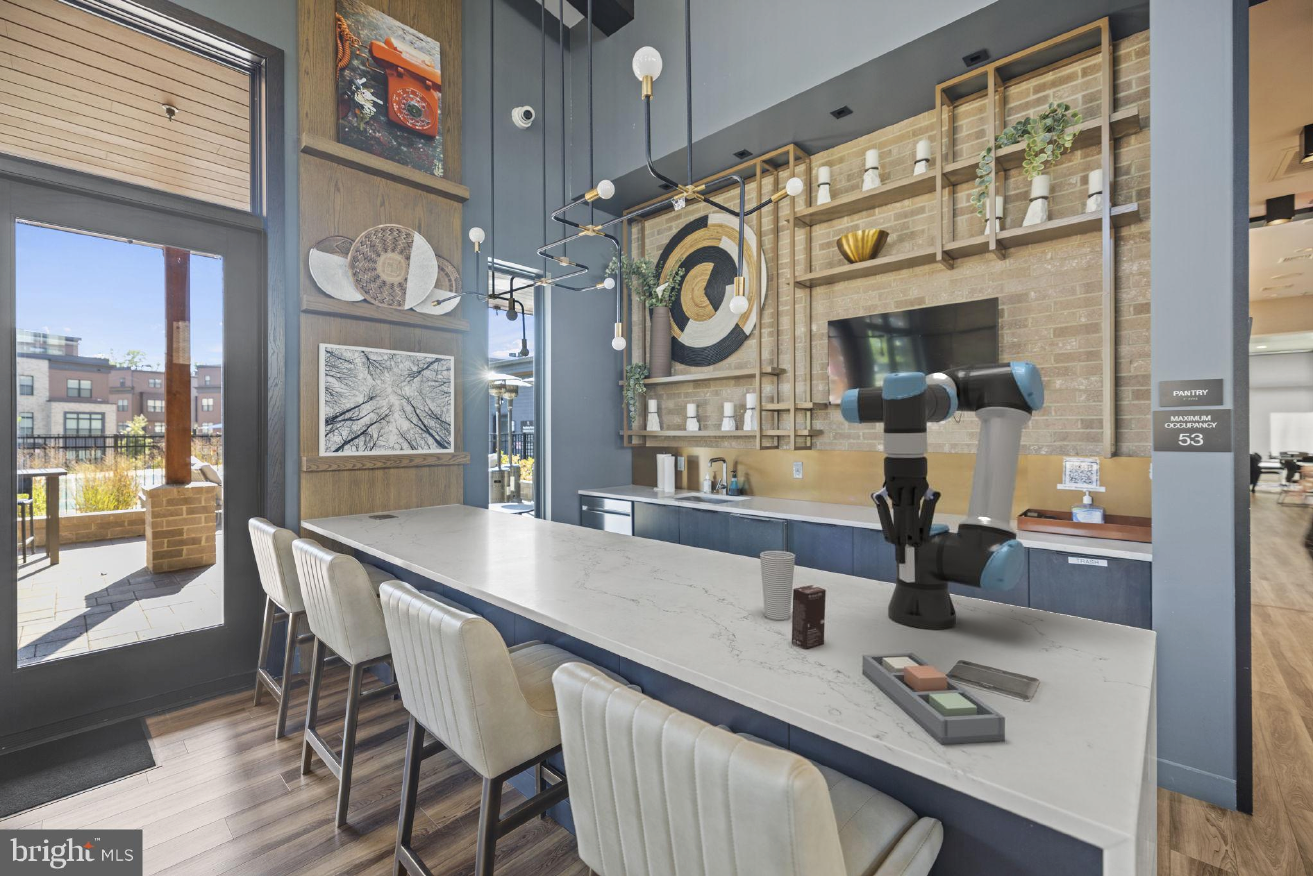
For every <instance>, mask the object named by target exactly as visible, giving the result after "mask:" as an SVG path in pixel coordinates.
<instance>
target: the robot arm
mask: <svg viewBox="0 0 1313 876" xmlns="http://www.w3.org/2000/svg"><path fill="white" fill-rule="evenodd" d="M1044 387H1045V386H1044V382H1043V379H1042V374H1041V373H1040V370H1039V368H1038V366H1036V364H1034V363H1033V362H1031V361H1013V360H1011V361H1010V362H998V363H997V362H996V363H985V364H973V365H972V364H969V365H962V366H958V367H954V368H950V369H947V370H942V371H939V372H938V371H937V372H934V373H931V374H928V375H926V374H925V373H924V372H921V371H920V372H918V371H917V372H916V371H912V372H910V371H909V372H895V373H888V374H886V375H885V376H884V377H883V380H882V385H881V386H875V387H866V388H860V387H858V388H854V389H852V388H851V389H848V390H846V391H845V392H844V393H843V394H842V396H841V398H840V403H839V404H840V414H841V416H842V418H843V419H844V420H845V421H846V423H847V422H848V423H850V424H859V425H860V424H882V423H883V453H884V454H885V455H887V456H885V457H884V458H883V475H884V482H883V484H882V488H881V489H880V490H878V491H877V492H872V493H871V494H870V498H871V500H872V501H873V503H874V504H875V505H876V510H877V514H878V517H879V522H880V526H881V530H882V533H883V538H884V541H885V542H887V543H889V544H892V545H894V558H895V559H894V560H895V587H894V590H893V592H892V595H891V598H890V601H889V604H888V609H887V611H888V612H887V613H888V614H887V615H888V618H890V619H891V620H892V621H894V622H896V623H899V624H902V625H905V626H909V627H914V628H920V629H926V630H927V629H930V630H945V629H950V628H954V627H955V626H956V625H957V613H956V610H955V609H956V608H955V606H954V603H953V600H952V598H951V594H950V591H949V583H953V584H956V585H957V584H958V585H962V586H966V587H967V586H968V587H973V588H978V589H982V590H984V591H997V592H1007V591H1008V592H1009V591H1010V590H1011V589H1012V588H1014V586H1015V585H1016V584H1017V583H1018V581H1019V579H1020V577H1021V574H1022V572H1023V569H1024V566H1025V559H1026V558H1025V551H1026V550H1025V546H1024V544H1023V543H1022V542H1021V541H1020V540H1019V539H1017V531H1015V530H1014V528H1013V527H1012V526H1011V518H1012V511H1013V505H1014V504H1013V503H1014V495H1015V489H1016V482H1017V481H1016V480H1017V471H1018V465H1019V456H1020V449H1021V440H1022V433H1023V426H1025V425H1026V424H1028V423H1029V422H1030V421H1032V417H1033V416H1032V415H1033V412H1037V411H1040V410H1041V409H1043V408H1044V407H1043V406H1044V404H1045V388H1044ZM956 412H967V413H968V412H972V413H974V415H975V418H977V419H978V420H979V422H980V427H979V433H978V440H977V448H976V454H975V460H974V468H973V474H972V480H971V481H972V482H971V490H970V495H969V502H968V507H967V508H968V509H967V516H966V518H965V519H964V520H962V521H961V522H959V523H958V527H957V532H952V531H951V530H950V527H949V525H948V524H945V523H944V524H943V523H933V520H934V514H935V511H936V506H937V503H938V502H939V500H940V498H941V497H942V493H941V492H940V491H937V490H933V488H931V487H929V486H930V484H929V482H928V480H927V476H928V472H929V471H928V458H927V457H926V456H925V454H927V453H928V431H927V430H928V427H927V426H928V424H927V423H937V424H939V423H941V422H944V421H947V420H949V419H951V418H952V417H953V416H954V415H955V413H956ZM922 499H923V500H922ZM888 500H890V501H891V509H892V513H891V510H890V506H889V503H888ZM921 501H922V503H921ZM891 514H893V517H892V515H891Z"/></svg>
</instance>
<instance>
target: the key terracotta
mask: <svg viewBox="0 0 1313 876" xmlns="http://www.w3.org/2000/svg"><path fill="white" fill-rule="evenodd" d="M947 677H948V676H947V675H945V674H944V673H942V672H940V671H939V670H938V669H936V668H935V667H934V668H933V666H932V665H931V664H929V665H928V666H904V681H905V682H906V683H907V684H908V685H910V686H911V687H912V688H913V689H915V690H916V691H917V692H924V691H944V690H947Z"/></svg>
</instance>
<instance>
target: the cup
mask: <svg viewBox="0 0 1313 876" xmlns="http://www.w3.org/2000/svg"><path fill="white" fill-rule="evenodd" d="M759 556H760V560H759V561H760V570H761V571H760V572H761V584H762V595H763V597H762V598H763V607H764V616H765V617H766V619H769V620H773V621H786V620H788V619H789V618H790V617H791V606H792V598H793V583H794V572H795V560H796V554H795V553H793V552H789V551H784V550H766V551H765V550H764V551H762V552H760V554H759Z"/></svg>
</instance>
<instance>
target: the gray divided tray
mask: <svg viewBox="0 0 1313 876" xmlns="http://www.w3.org/2000/svg"><path fill="white" fill-rule="evenodd" d="M891 657H908V658H909V659H911V660H912V661H914V662H915V663H916V664H918V665H919V666H928V665H930V664H929V663H928V662H926V661H925V660H923V659H922V658H920V657H919V656H918V655H916V654H915V653H914V652H909V653H908V652H906V653H905V652H904V653H903V652H900V653H882V654H879V653H878V654H862V674H863V675H864V676H865V677H866V678H867V679H868V680H869V681H871V682H872V684H874V685H875V686H876V687H877V688H878V690H880V691H881V692H882V693H884V694H885V696H887V697H888V698H889V699H890V700H891V701H892V702H893V703H895V704H896V705H897V706H898V707H899V708H900V709H901V710H902V711H903V712H905V714H907V715H908V716H909V717H910V718H911V719H912V720H913V721H915V723H917V724H918V725H919V726H920V727H921V728H923V730H925V731H926V732H927V733H928V734H929V735H930V736H931V737H932V738H933V739H934V740H936V741H937V742H938V743H939V744H940V745H951V744H953V745H954V744H955V745H956V744H968V743H969V744H973V743H987V742H989V743H990V742H1005V741H1006V731H1005V730H1006V728H1005V727H1006V717H1005V716H1004V715H1003V714H1002V713H1000V712H999V711H997V710H995V709H994V708H992V707H991V706H990V705H988V704H987V703H986V702H984V701H983V700H981V699H980V698H978V697H976V696H975V695H974V694H972V693H971V692H970V691H968V690H967V689H965V688H964V687H962V686H961V685H959V684H958V683H957V682H955V681H954V680H952V679H951V678H950V677H948V676H946V677H947V690H944V691H924V692H917V691H916V690H915V689H913V688H912V687H911V686H910V685H908V684H907V683H906V682H905V681H904V672H898V673H889V672H888V671H887V670H886V669H884V668H883V667H882V663H883V658H891ZM932 667H933V666H932ZM933 668H935V667H933ZM946 693H958V694H959V695H961V696H962V697H964V698H965V699H966V700H968V701H969V702H971V703H972V704H973V705H975V706H976V707H977V715H970V716H951V717H943V716H942V715H941V714H939V713H938V712H937V711H936V710H935V709H933V708H932V707H931V706H930V705H929V694H946Z"/></svg>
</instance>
